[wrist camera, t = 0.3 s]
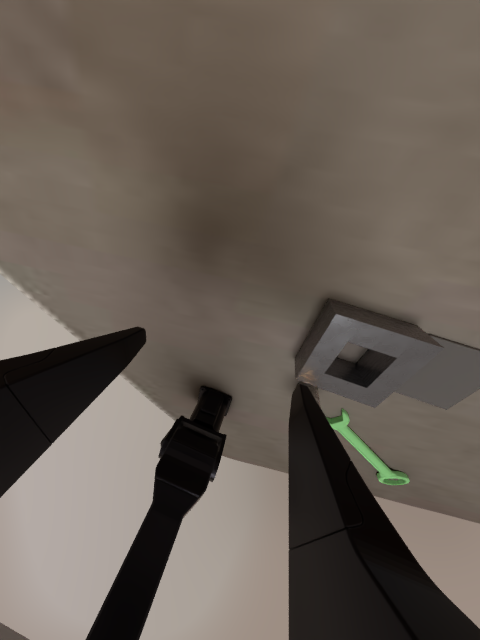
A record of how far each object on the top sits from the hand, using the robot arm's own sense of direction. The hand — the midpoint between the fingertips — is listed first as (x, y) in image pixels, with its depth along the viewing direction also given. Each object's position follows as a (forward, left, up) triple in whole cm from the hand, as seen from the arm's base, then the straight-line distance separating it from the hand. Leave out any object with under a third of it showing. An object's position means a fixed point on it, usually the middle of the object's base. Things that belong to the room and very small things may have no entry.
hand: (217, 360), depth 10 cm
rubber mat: (-4, -24, -14) cm, 28 cm away
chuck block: (-4, -13, -14) cm, 20 cm away
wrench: (-23, -27, -15) cm, 39 cm away
